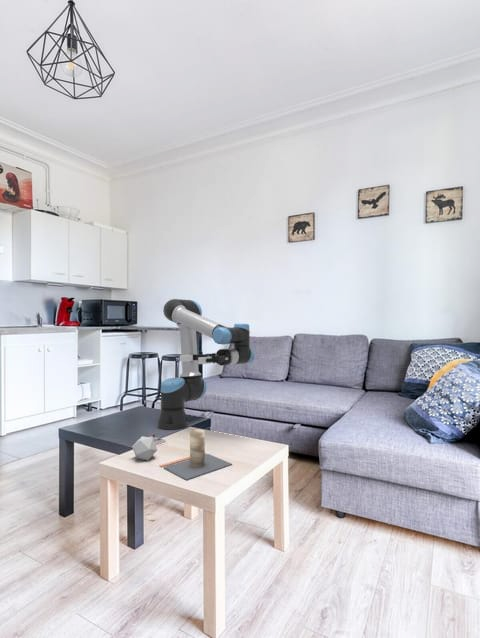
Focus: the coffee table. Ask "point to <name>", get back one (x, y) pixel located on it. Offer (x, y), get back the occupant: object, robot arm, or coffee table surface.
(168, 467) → the mat
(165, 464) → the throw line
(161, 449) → the coffee table surface
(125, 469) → the coffee table surface
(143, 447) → the die
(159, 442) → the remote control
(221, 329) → the robot arm
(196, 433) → the beige banded cylinder
